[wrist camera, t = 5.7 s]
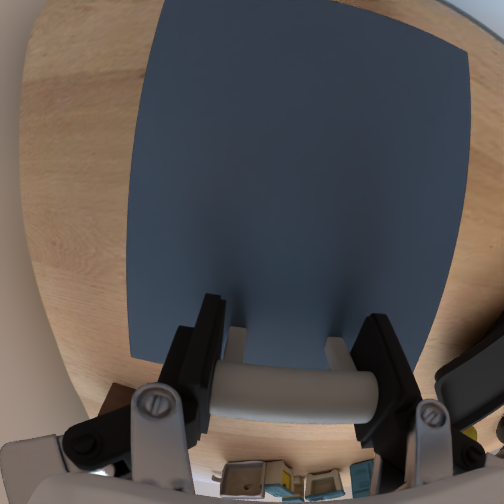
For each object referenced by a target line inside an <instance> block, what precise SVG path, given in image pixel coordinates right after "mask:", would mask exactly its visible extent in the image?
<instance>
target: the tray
mask: <svg viewBox="0 0 504 504" xmlns="http://www.w3.org/2000/svg"><path fill="white" fill-rule="evenodd" d="M435 380H436V383H435V391H436V394H437V397H438V401H439V402H440V403H442V404H443V405H444V406H445V407H446V409H447V411H448V413H449V417H450V425H451V426H452V427H454V428H456V429H457V430H459V431H460V432H462V431H464V430H466V429H467V428H469V427H471V426H472V425H474V424H476V423H477V422H479V421H481V420H482V419H484V418H485V417H487V416H488V415H490V414H491V413H493V412H494V411H496V410H497V409H499V408H500V407H502V406H503V405H504V311H503V313H502V314H501V316H500V317H499V318H498V320H497V321H496V323H495V324H494V325H493V327H492V328H491V329H490V331H489V332H488V333H487V335H486V336H485V337H484V339H483V340H482V341H481V342H479V343H478V344H477V345H475V346H474V347H472V348H471V349H469V350H468V351H466V352H465V353H463V354H462V355H460V356H459V357H457V358H455V359H454V360H452V361H451V362H449V363H447V364H446V365H444V366H443V367H441V368H440V369H439V370H438V371H437V372H436V374H435Z"/></svg>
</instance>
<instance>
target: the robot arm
mask: <svg viewBox="0 0 504 504" xmlns="http://www.w3.org/2000/svg"><path fill="white" fill-rule="evenodd" d="M225 311H226V300H223V299H221V295H217V294H210V293H206V294H205V296H204V299H203V302H202V305H201V309H200V312H199V315H198V318H197V321H196V324H195V327H188V326H182V325H179V326H178V328H177V331H176V333H175V336H174V338H173V341H172V344H171V346H170V349H169V352H168V354H167V357H166V360H165V362H164V365H163V368H162V371H161V373H160V376H159V379H158V382H154V383H148V384H145V385H143V386H141V387H139V388H138V389H137V390H136V391H135V392H134V394H133V395H132V400H131V404H129V405H126V406H124V407H121V408H119V409H116V410H114V411H111V412H109V413H106V414H103V415H101V416H98V417H95V418H93V419H90V420H87V421H84V422H82V423H79V424H76V425H74V426H72V427H70V428H69V429H68V430H67V431H66V432H65V434H64V435H61V436H56V435H55V434H52V435H47V436H43V437H37V438H32V439H27V440H20V441H14V442H9V443H6V444H4V446H2V448H1V449H0V468H1V473H2V478H3V482H4V486H5V490H6V494H7V498H8V501H9V504H504V459H501V458H499V457H497V456H495V455H493V454H490V453H488V452H487V453H486V454H485V451H484V448H483V447H482V446H481V445H480V444H479V443H478V442H477V441H475V440H473V439H472V438H470V437H468V436H467V435H465V434H464V433H462V432H460V431H459V430H457V429H456V428H454V427H452V426H451V425H450V417H449V413H448V411H447V409H446V407H445V406H444V405H443V404H442V403H440V402H439V401H437V400H434V399H425V400H423V399H422V397H421V393H420V390H419V388H418V385H417V383H416V380H415V378H414V375H413V373H412V370H411V368H410V365H409V363H408V361H407V358H406V356H405V354H404V351H403V349H402V347H401V344H400V342H399V340H398V338H397V335H396V333H395V331H394V329H393V327H392V325H391V322H390V320H389V318H388V316H387V315H386V314H381V313H371V315H370V316H367V317H366V318H365V320H364V322H363V325H362V327H361V329H360V332H359V334H358V336H357V338H356V341H355V343H354V345H353V347H352V349H351V351H350V355H351V358H352V360H353V362H354V364H355V367H356V369H357V371H369V372H372V373H373V374H374V375H375V377H376V379H377V382H378V387H379V399H378V405H377V409H376V412H375V414H374V416H373V418H372V419H371V420H370V421H369V422H367V423H360V424H354V427H355V433H356V438H357V441H359V442H360V441H361V447H362V449H363V448H374V452H375V459H374V466H373V472H372V479H371V484H370V490H369V495H368V497H361V498H353V499H344V500H334V501H320V502H259V501H244V500H234V499H225V498H217V497H209V496H202V495H196V494H195V490H194V484H193V478H192V473H191V467H190V460H189V454H188V449H190V448H192V447H194V446H195V445H196V444H197V440H199V441H200V436H201V433H205V434H207V431H208V426H209V420H210V414H209V398H210V390H211V383H212V377H213V372H214V367H215V363H216V361H217V360H221V354H222V343H223V332H224V322H225ZM131 476H132V481H131V480H127V479H126V478H129V477H131Z"/></svg>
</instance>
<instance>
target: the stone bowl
mask: <svg viewBox="0 0 504 504" xmlns="http://www.w3.org/2000/svg"><path fill="white" fill-rule="evenodd" d="M496 434H497V437H498V439H499V440H500V441H501V442H502V443H504V418H503V419H501V420H500V422H499V424H498V427H497V430H496ZM495 456H497V457H499V458H501V459H503V458H504V446H503V447H502V448H501V449H500V451H499V452H498V453H497V454H496V455H495Z"/></svg>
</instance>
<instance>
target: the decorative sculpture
mask: <svg viewBox="0 0 504 504" xmlns="http://www.w3.org/2000/svg"><path fill="white" fill-rule="evenodd" d="M263 465H264V474H263V484H262V489H260V482H261V475H262V468H263ZM266 466H267V464H266V463H265V462H262V461H244V462H238V463H236V462H234V463H227V464H225V466H224V469H223V471H222V478H221V479H220V478H217V477H215V476H214V475H213V476H212V480H213V481H216V482H221V483H220V496H221V497H222V498H225V499H264V497H265V488H264V485H265V476H266Z"/></svg>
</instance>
